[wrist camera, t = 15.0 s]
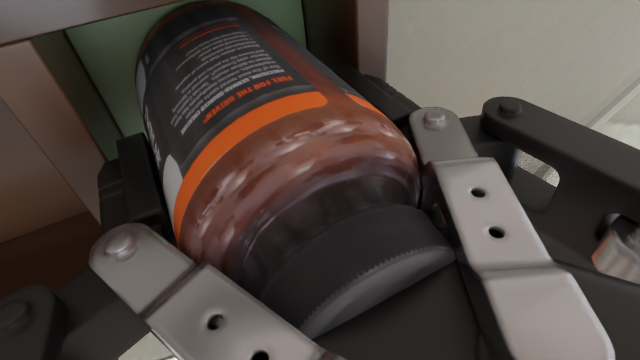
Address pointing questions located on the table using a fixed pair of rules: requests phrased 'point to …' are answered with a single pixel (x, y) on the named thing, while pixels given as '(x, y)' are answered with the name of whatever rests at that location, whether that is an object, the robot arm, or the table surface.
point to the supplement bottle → (280, 168)
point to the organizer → (109, 109)
